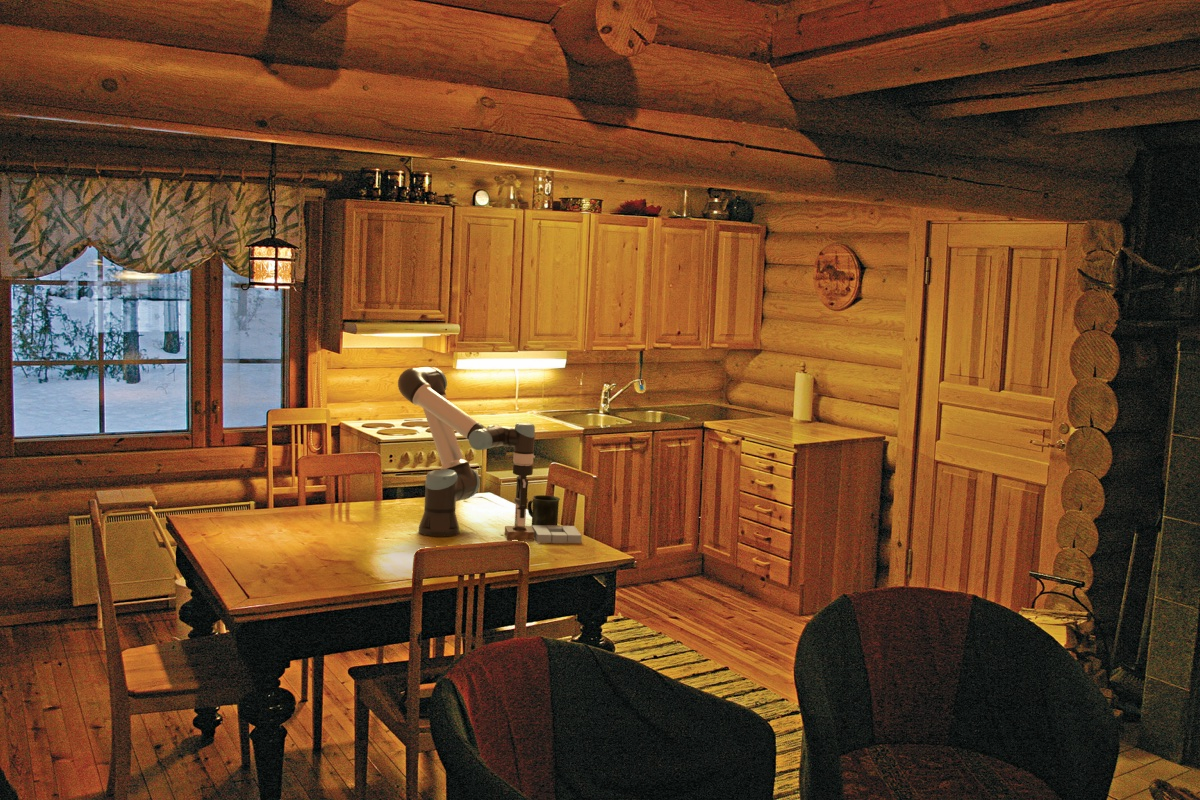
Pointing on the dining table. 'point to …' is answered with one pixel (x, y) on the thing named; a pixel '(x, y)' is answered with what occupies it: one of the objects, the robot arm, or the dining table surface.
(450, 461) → the robot arm
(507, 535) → the mount
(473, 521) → the dining table surface
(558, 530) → the socket
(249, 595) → the dining table surface
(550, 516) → the mug
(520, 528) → the pin
